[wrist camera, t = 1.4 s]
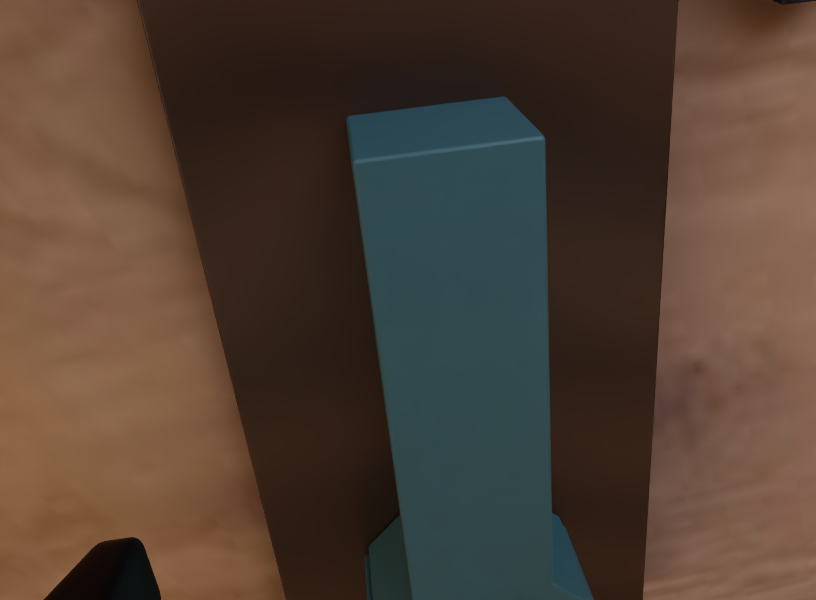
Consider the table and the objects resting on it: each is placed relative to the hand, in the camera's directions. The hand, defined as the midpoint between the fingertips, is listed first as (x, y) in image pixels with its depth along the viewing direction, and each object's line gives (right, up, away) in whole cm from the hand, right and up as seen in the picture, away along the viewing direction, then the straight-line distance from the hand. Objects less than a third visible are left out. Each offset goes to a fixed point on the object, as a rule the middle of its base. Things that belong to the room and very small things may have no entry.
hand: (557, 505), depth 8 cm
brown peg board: (-1, +1, +10) cm, 11 cm away
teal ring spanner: (0, -1, +10) cm, 10 cm away
